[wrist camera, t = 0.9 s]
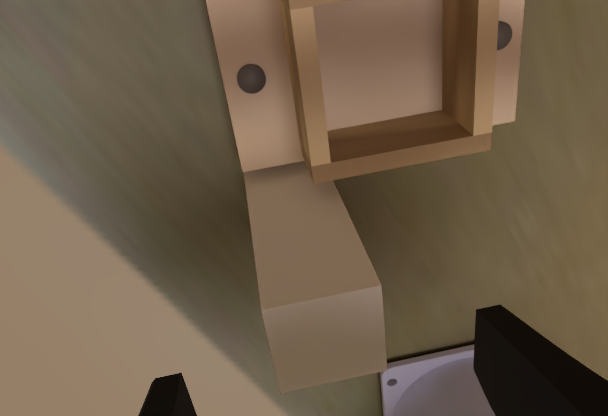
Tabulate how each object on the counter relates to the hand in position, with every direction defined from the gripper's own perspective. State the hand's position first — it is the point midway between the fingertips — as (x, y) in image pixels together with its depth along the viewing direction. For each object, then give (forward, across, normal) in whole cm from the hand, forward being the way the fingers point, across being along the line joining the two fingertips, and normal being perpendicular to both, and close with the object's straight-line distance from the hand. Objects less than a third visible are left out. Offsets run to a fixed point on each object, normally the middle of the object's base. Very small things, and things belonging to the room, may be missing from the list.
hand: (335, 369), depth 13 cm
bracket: (+9, -4, -5) cm, 11 cm away
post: (+9, 0, 0) cm, 9 cm away
